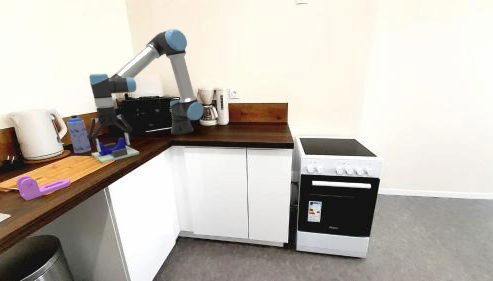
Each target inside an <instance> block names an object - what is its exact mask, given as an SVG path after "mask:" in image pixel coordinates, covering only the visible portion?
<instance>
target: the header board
mask: <svg viewBox="0 0 493 281" xmlns="http://www.w3.org/2000/svg"><path fill="white" fill-rule="evenodd" d="M116 145H117V143H116V142H111V143H106V144H103V146H104V147H105V148H107V149H111V148H114V147H115V146H116ZM125 146H126V148H124V149H119V150H115V151H112V154H108V155H105V156H102V155H100V154H99V152H98V151H97V152H91V156H92V157H93V156H94V157H96V158H97V159H98V160H99V161H100V162H99V161H98V160H97V159H96V158H95V159H96V160H97V161H98V162H99V163H101V162H106V161H110V160H114V161H118V160H122V159H126V158H128V157H132V156H136V155H140V151H138V150H136V149H135V148H132V147H130V146H129V145H125ZM94 157H93V158H94ZM110 162H111V161H110Z"/></svg>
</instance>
